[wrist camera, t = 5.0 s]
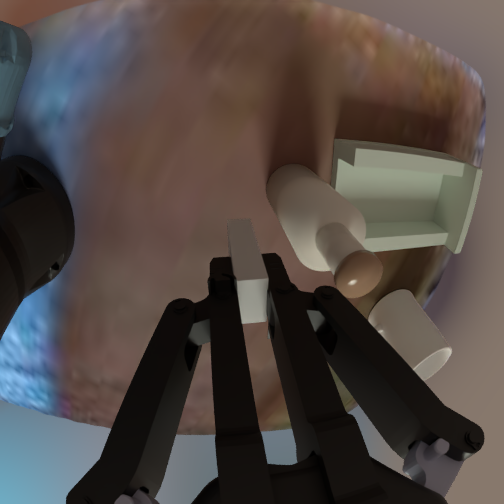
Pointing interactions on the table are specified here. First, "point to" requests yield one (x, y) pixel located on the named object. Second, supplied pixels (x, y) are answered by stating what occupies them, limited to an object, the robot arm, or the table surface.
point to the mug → (410, 332)
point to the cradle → (406, 193)
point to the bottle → (324, 229)
